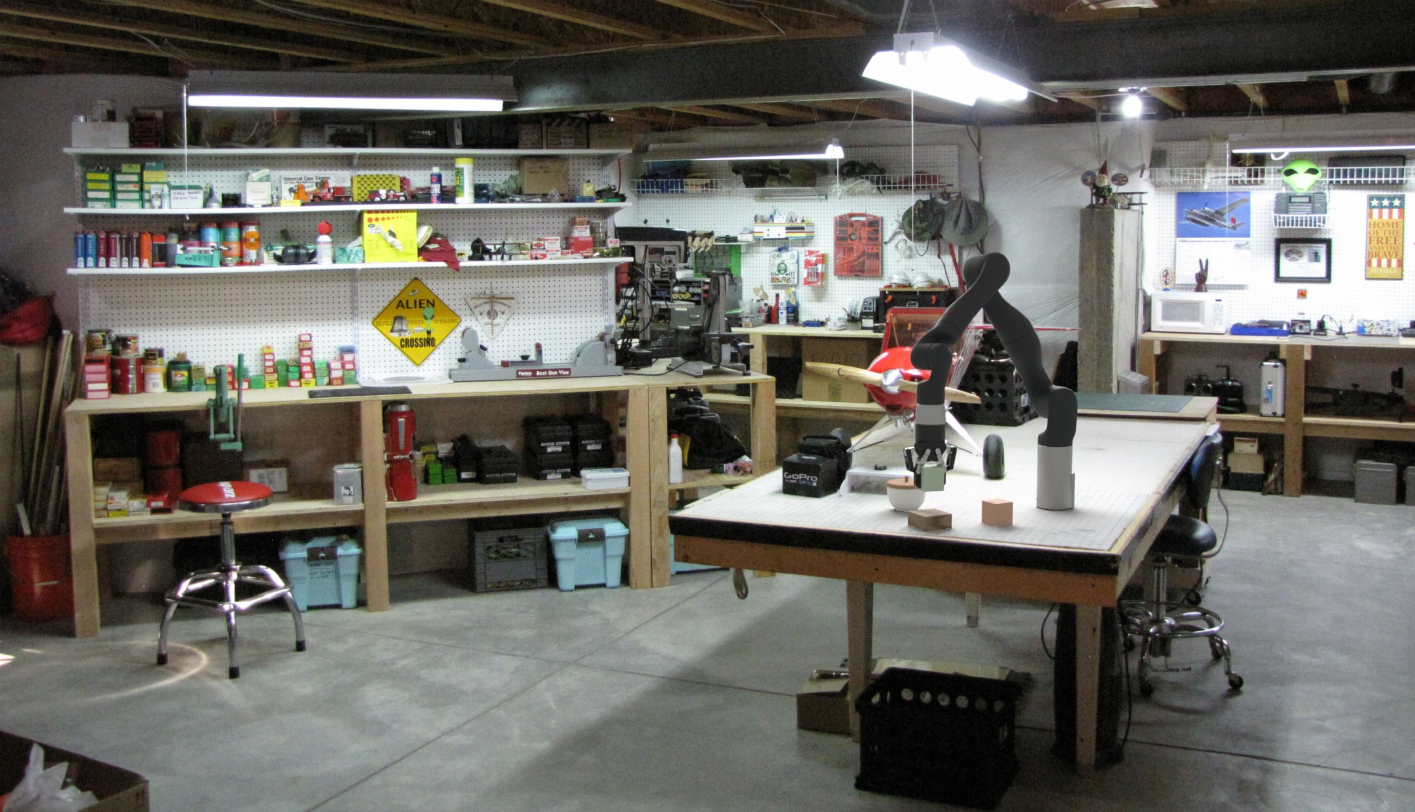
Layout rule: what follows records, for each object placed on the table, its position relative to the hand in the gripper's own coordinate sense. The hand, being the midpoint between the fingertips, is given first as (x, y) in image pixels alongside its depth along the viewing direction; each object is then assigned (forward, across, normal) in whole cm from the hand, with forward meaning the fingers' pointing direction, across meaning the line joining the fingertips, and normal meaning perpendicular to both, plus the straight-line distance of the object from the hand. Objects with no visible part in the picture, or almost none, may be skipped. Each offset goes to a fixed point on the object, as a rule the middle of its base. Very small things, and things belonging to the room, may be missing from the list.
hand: (929, 487), depth 312 cm
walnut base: (+11, 0, 0) cm, 11 cm away
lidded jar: (+10, -2, -22) cm, 24 cm away
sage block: (+1, 0, 0) cm, 1 cm away
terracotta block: (+10, -18, +1) cm, 21 cm away
